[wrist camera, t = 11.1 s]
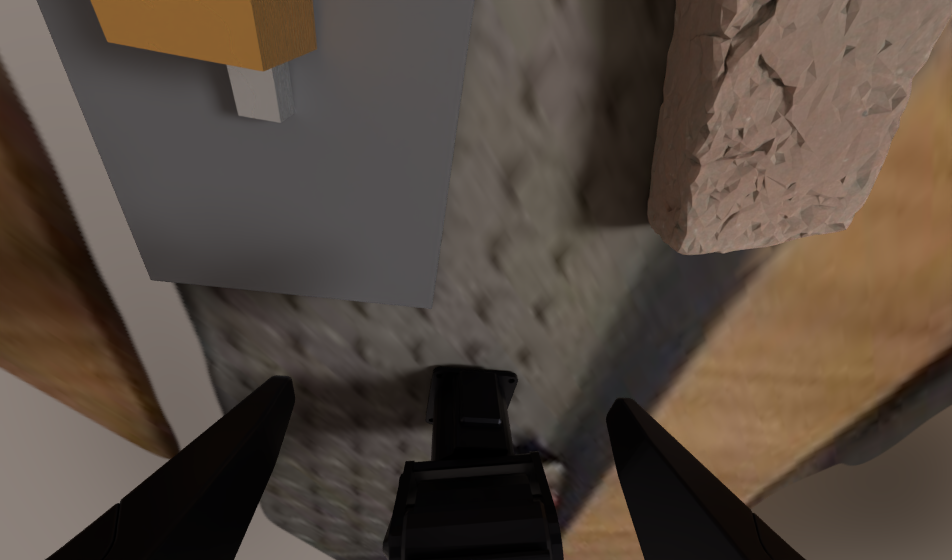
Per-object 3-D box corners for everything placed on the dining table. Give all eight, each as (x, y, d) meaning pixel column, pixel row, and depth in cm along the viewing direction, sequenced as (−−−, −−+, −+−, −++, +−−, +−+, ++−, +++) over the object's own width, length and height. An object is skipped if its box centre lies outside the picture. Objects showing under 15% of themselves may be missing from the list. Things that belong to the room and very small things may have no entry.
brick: (697, -236, 11) (826, -382, 7) (962, -286, 11) (1240, -466, 7) (634, 223, 21) (676, 265, 17) (777, 202, 20) (853, 240, 17)
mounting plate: (432, 303, 23) (431, 308, 22) (158, 274, 20) (151, 280, 20) (547, -534, 8) (553, -571, 8) (-322, -957, 6) (-390, -1045, 6)
